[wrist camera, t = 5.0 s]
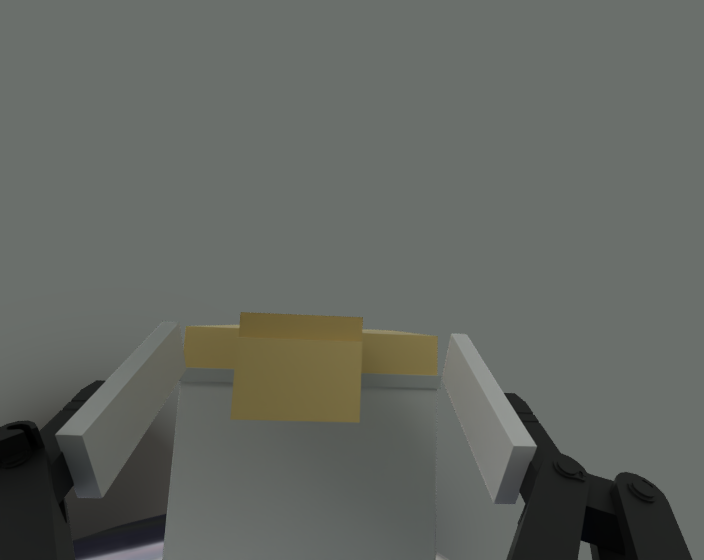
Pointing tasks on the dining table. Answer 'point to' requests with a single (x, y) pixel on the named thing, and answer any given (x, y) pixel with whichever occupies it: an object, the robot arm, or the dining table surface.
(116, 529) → the dining table surface
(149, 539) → the dining table surface
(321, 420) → the paddle
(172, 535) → the tall white upright box
